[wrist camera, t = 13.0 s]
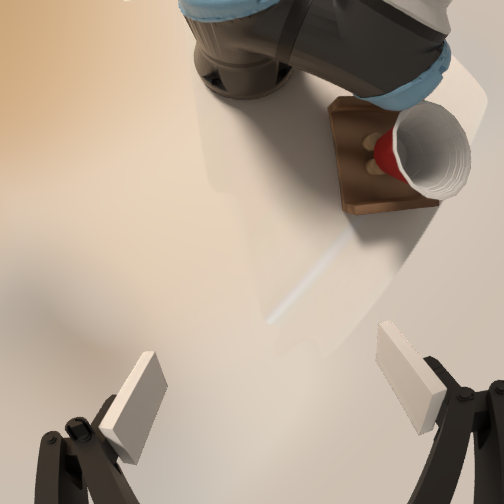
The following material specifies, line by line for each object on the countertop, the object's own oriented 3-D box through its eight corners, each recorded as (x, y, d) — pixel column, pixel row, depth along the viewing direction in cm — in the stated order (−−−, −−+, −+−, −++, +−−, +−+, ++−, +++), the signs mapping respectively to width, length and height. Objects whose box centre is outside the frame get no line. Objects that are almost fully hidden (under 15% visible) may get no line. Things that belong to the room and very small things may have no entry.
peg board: (327, 107, 38) (338, 96, 32) (405, 107, 37) (424, 99, 31) (342, 210, 42) (355, 215, 36) (418, 202, 41) (439, 205, 35)
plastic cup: (399, 105, 33) (446, 87, 21) (431, 171, 35) (483, 175, 24) (341, 134, 34) (376, 120, 23) (377, 204, 37) (422, 218, 25)
